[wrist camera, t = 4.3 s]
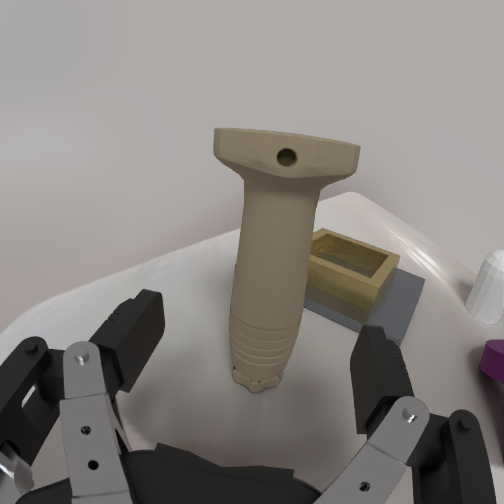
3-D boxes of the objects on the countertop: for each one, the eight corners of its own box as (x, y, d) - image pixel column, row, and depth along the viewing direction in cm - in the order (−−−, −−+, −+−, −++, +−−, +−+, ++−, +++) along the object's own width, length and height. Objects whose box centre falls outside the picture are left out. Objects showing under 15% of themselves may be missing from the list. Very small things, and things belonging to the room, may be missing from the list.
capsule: (465, 295, 30) (486, 238, 27) (497, 309, 27) (520, 253, 24) (464, 314, 26) (490, 250, 23) (499, 329, 23) (528, 267, 20)
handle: (215, 346, 21) (226, 127, 15) (302, 357, 21) (347, 142, 14) (201, 396, 17) (202, 129, 10) (304, 409, 16) (374, 150, 10)
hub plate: (422, 286, 31) (431, 260, 30) (397, 350, 21) (413, 316, 20) (301, 239, 41) (305, 216, 40) (234, 273, 31) (236, 242, 30)
